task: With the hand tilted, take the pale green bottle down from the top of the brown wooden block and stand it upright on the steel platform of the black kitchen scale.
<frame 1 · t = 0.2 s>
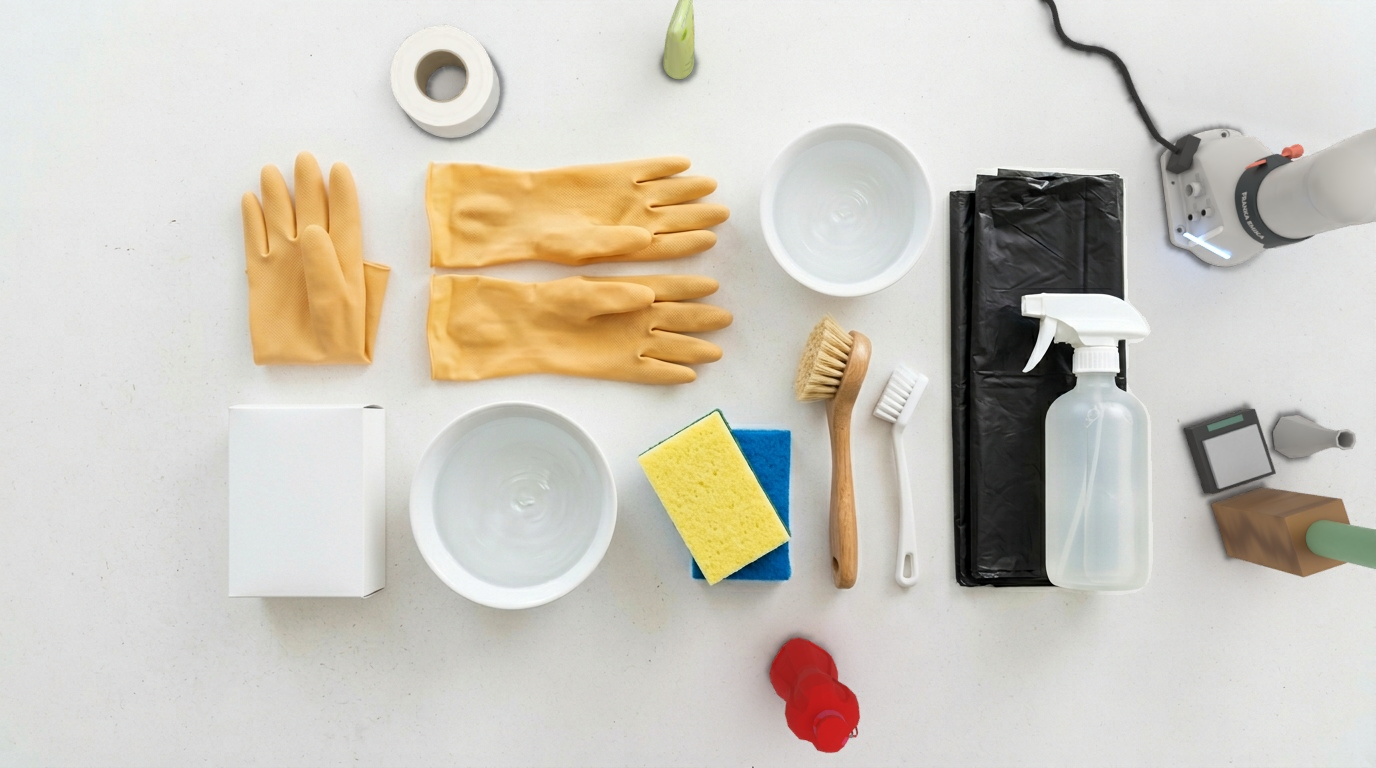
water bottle: (804, 669, 123), on the countertop
flask: (1291, 436, 126), on the countertop
brown wooden block: (1244, 521, 126), on the countertop
tube: (678, 66, 125), on the countertop
scale: (1225, 450, 126), on the countertop
tape roll: (451, 90, 124), on the countertop
green bottle: (1323, 538, 111), point 15 cm above the countertop, touching brown wooden block
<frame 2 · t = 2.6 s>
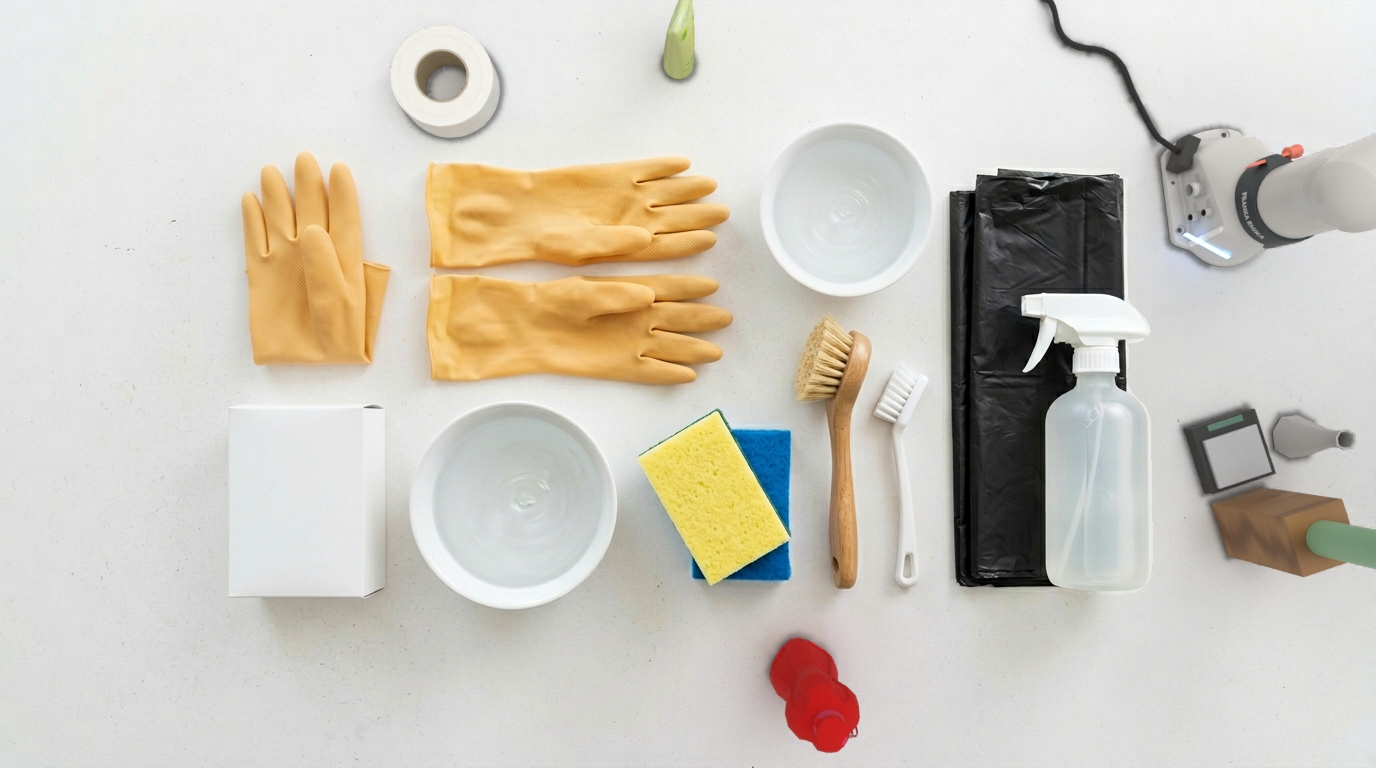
nothing on the countertop moved.
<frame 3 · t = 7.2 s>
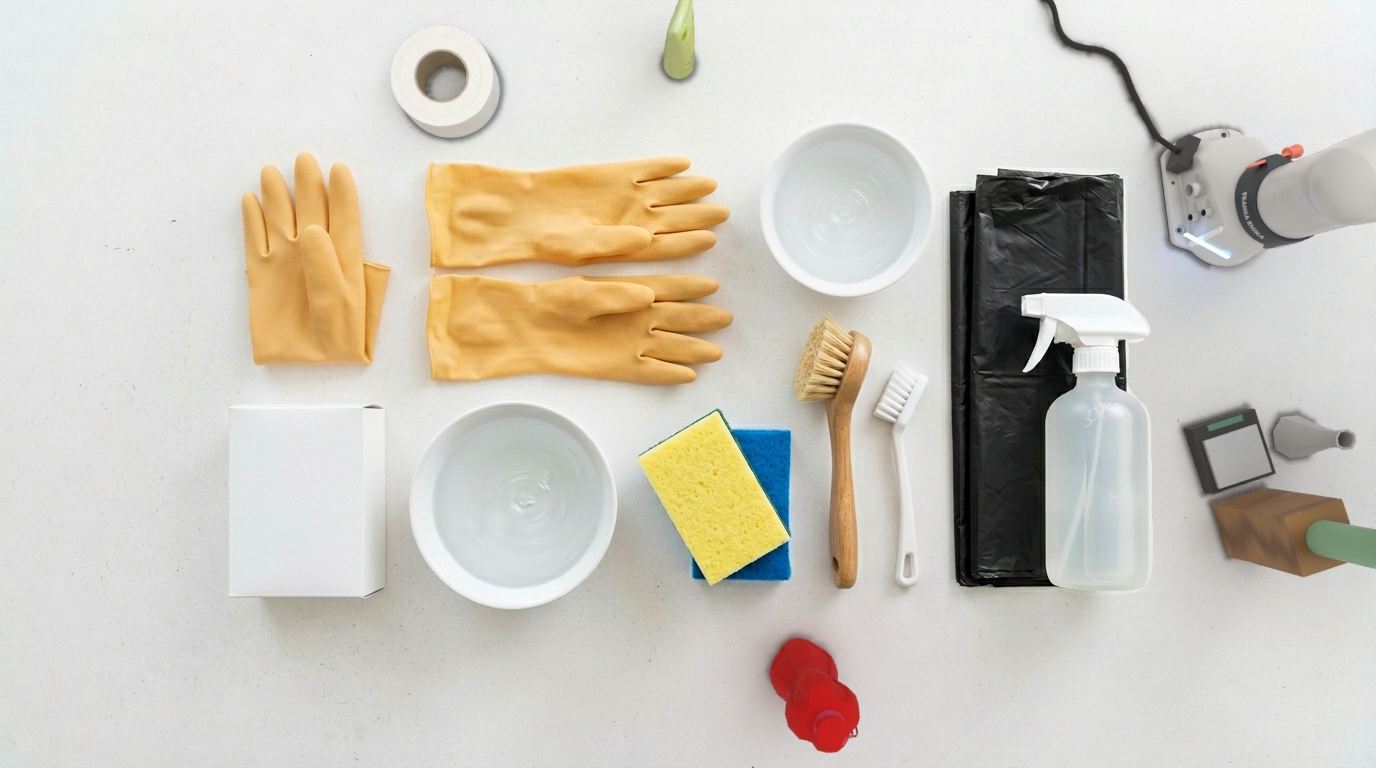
green bottle: (1323, 538, 111), point 15 cm above the countertop, touching brown wooden block, gripper
everything else where it was.
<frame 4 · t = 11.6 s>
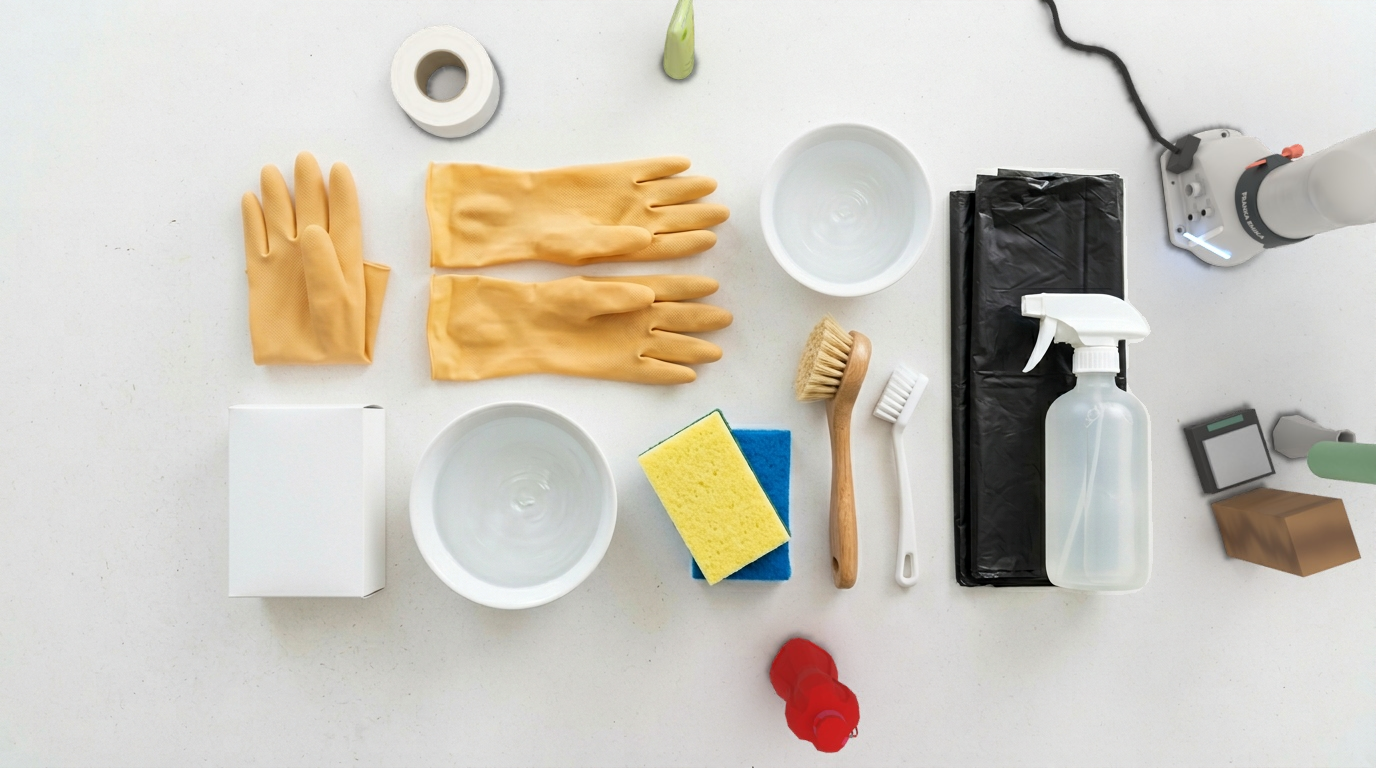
green bottle: (1325, 459, 107), point 19 cm above the countertop, touching gripper
everything else where it was.
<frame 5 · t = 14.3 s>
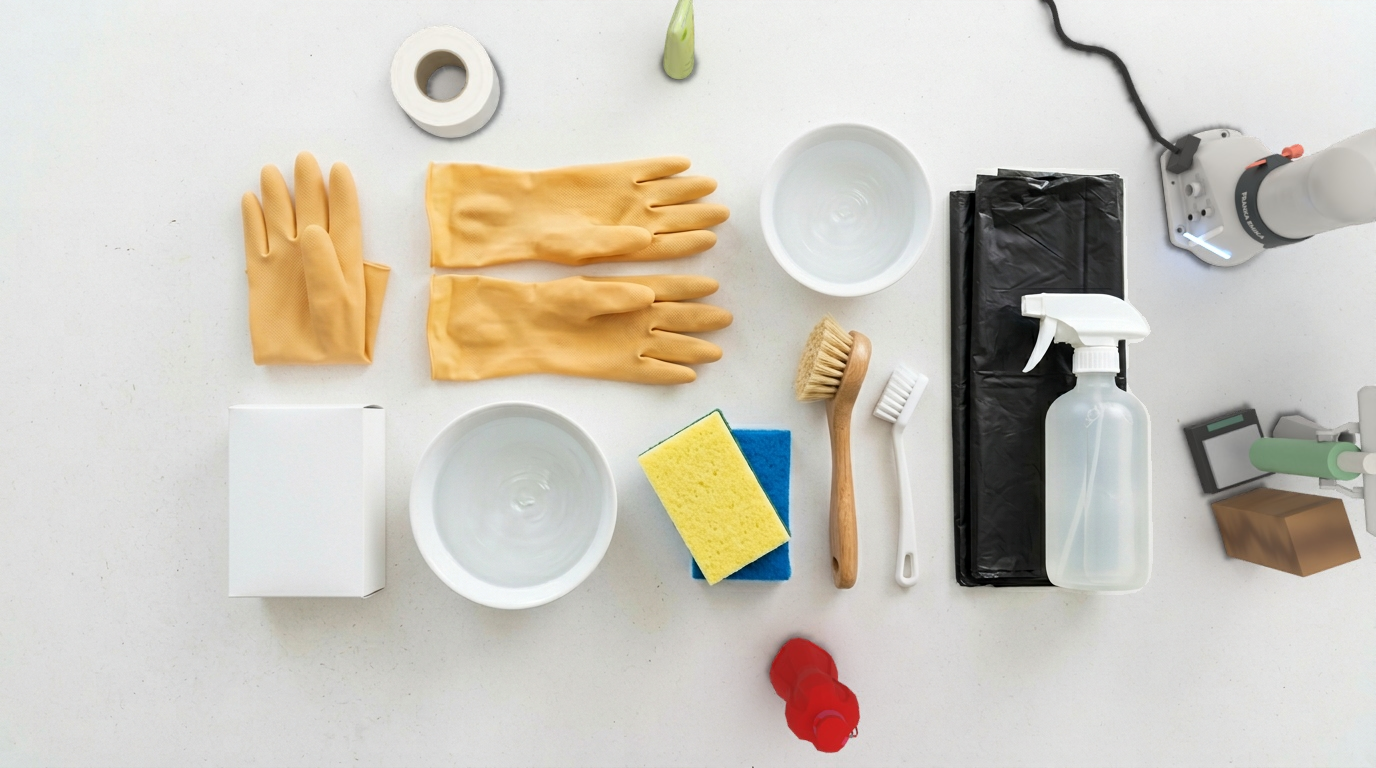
hand: (1317, 459, 107), 19 cm above the countertop, tool tilted 45°, fingers closed on green bottle, 5 cm apart
green bottle: (1265, 454, 117), point 8 cm above the countertop, touching gripper
everything else where it was.
when the fingers open (13 cm above the countertop, at t = 16.4 s): green bottle stays where it is, resting on scale.
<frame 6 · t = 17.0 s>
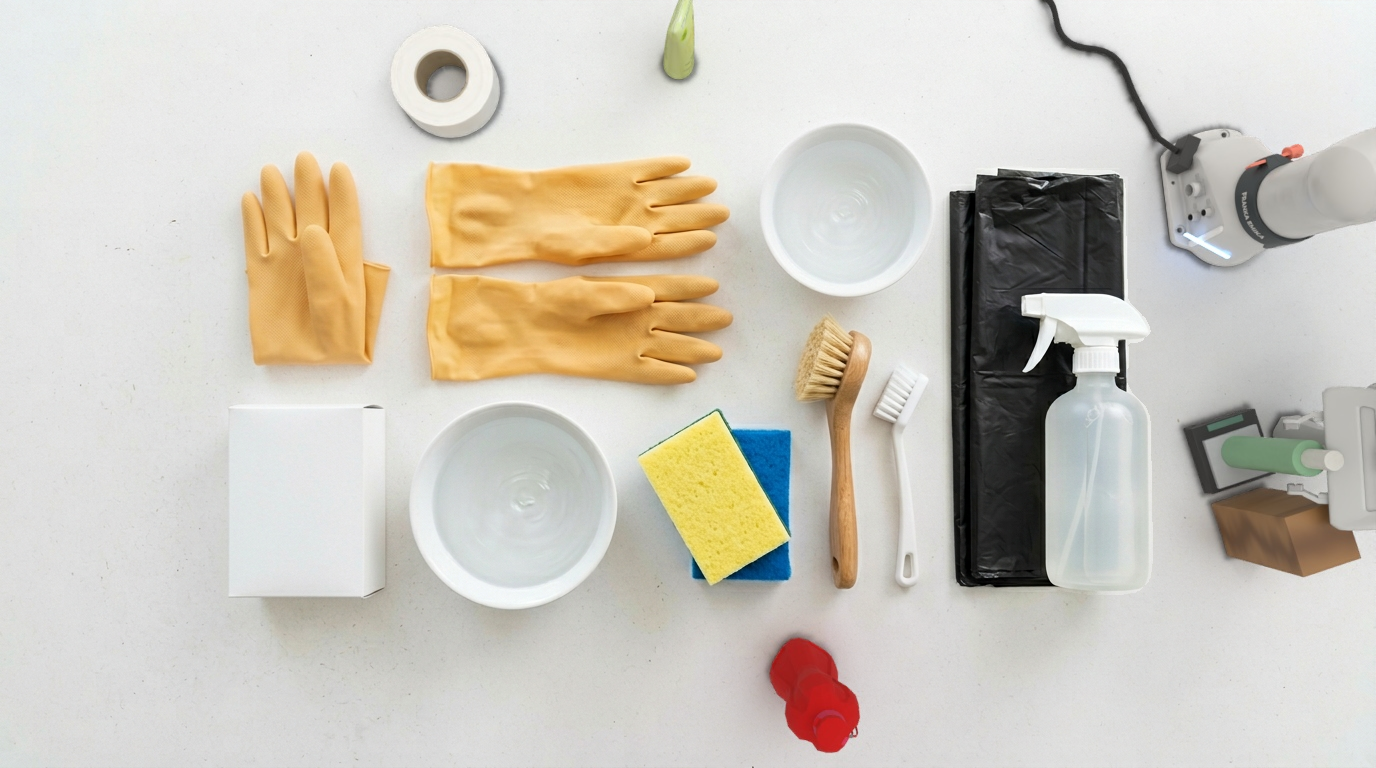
hand: (1285, 456, 113), 13 cm above the countertop, tool tilted 45°, fingers open, 8 cm apart
green bottle: (1236, 451, 123), point 3 cm above the countertop, touching scale
everything else where it was.
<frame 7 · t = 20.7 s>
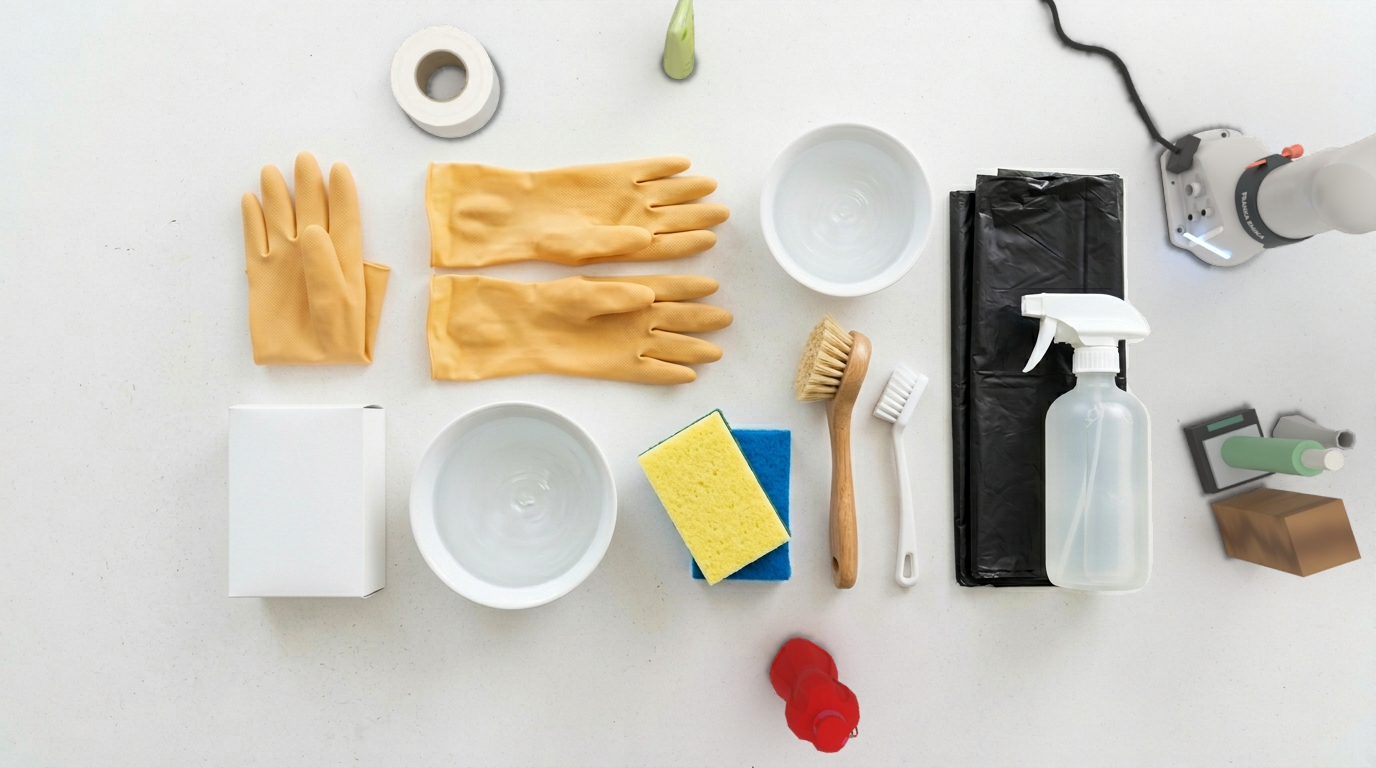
nothing on the countertop moved.
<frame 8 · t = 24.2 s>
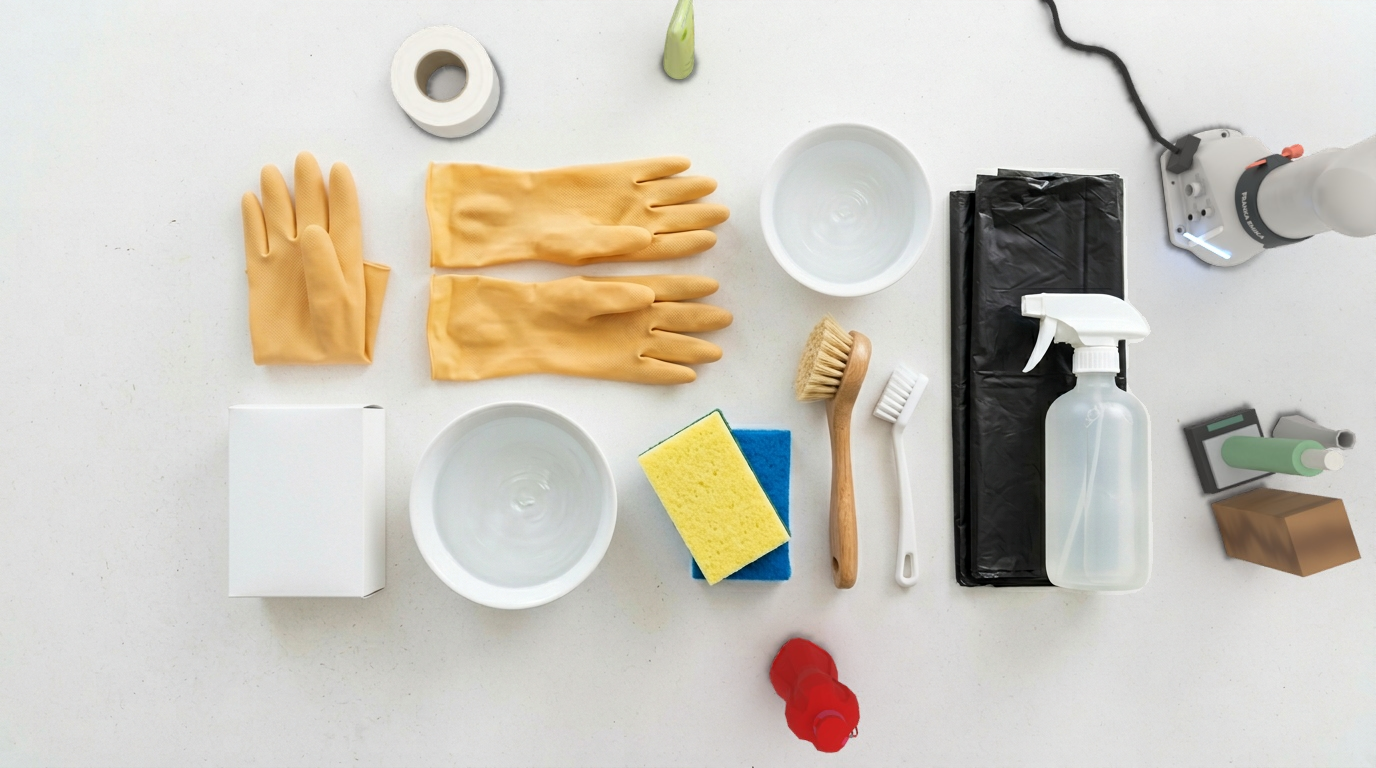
nothing on the countertop moved.
at the end: green bottle inside the target area on the scale (0.5 cm from its centre), point 2.6 cm above the scale's base; green bottle tilted 0°; the gripper is holding nothing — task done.
